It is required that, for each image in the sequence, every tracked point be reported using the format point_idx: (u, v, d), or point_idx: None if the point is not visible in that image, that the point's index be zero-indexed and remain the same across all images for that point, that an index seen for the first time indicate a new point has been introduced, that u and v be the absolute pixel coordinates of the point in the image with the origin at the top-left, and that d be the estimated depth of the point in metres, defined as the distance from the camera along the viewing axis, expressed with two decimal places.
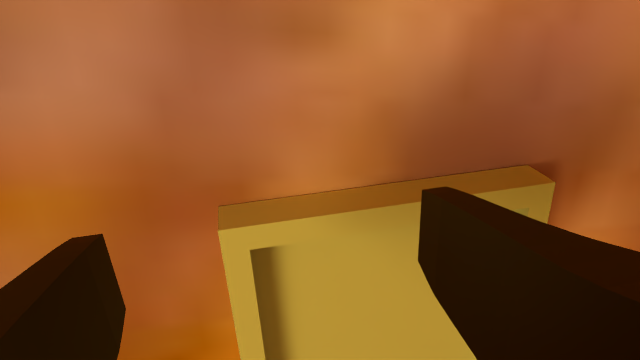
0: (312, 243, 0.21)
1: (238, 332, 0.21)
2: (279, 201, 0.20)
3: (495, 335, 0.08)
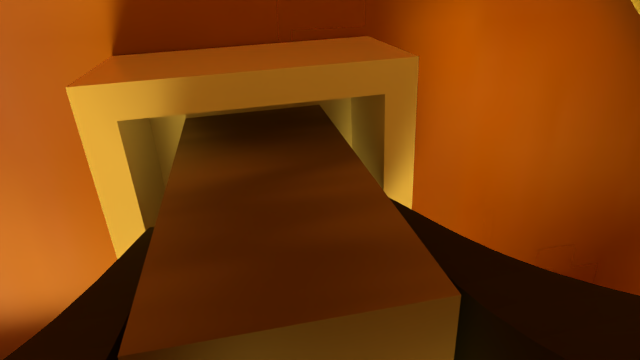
0: None
1: None
2: None
3: None
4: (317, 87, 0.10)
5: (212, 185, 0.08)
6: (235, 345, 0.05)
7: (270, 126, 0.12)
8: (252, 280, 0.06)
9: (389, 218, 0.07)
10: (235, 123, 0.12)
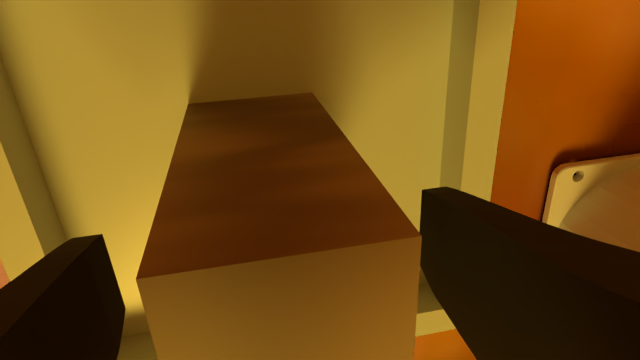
0: (116, 272, 0.16)
1: None
2: None
3: (495, 335, 0.08)
4: None
5: (212, 157, 0.10)
6: (233, 273, 0.06)
7: (266, 110, 0.13)
8: (247, 227, 0.07)
9: (368, 182, 0.08)
10: (234, 108, 0.13)
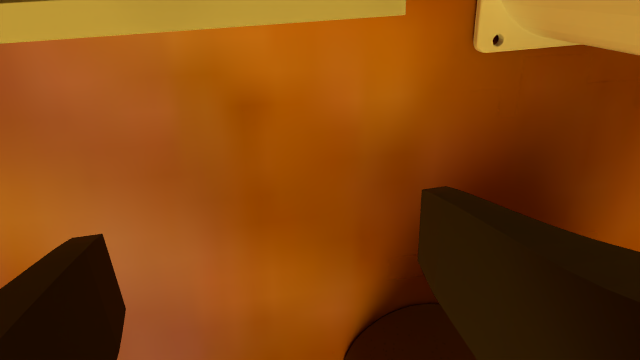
0: None
1: (121, 31, 0.15)
2: None
3: (495, 335, 0.08)
4: None
5: None
6: None
7: None
8: None
9: None
10: None
